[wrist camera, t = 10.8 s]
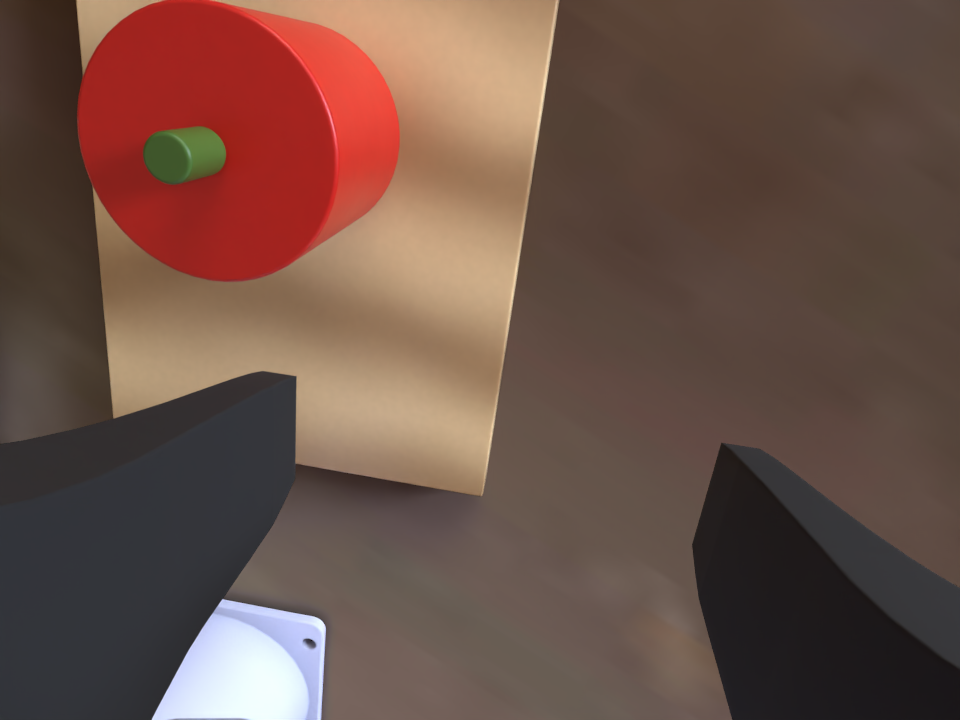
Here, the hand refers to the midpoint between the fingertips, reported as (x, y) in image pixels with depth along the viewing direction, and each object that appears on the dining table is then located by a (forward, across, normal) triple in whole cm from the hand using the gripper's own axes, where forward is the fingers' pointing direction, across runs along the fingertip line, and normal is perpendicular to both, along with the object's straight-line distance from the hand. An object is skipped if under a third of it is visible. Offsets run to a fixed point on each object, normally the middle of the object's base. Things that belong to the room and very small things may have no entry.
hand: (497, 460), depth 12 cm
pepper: (+8, +6, -4) cm, 11 cm away
